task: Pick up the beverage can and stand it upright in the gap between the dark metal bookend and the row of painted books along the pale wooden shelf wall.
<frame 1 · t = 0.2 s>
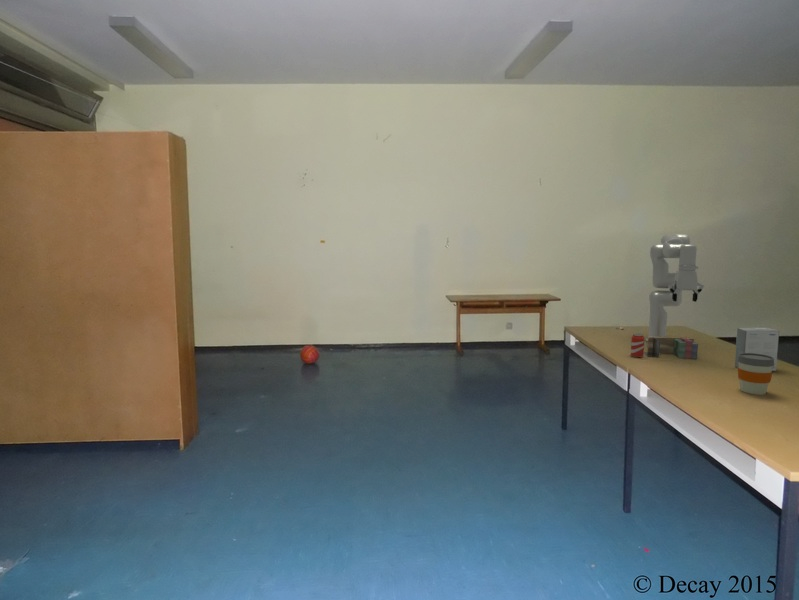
hand: (684, 301, 263), 31 cm above the table, tool pointing down, fingers open, 9 cm apart
reusable coffee cup: (752, 391, 211), on the table
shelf: (667, 357, 271), on the table
beverage can: (636, 356, 272), on the table
hard drive box: (754, 369, 247), on the table
bookend: (651, 347, 275), on the table
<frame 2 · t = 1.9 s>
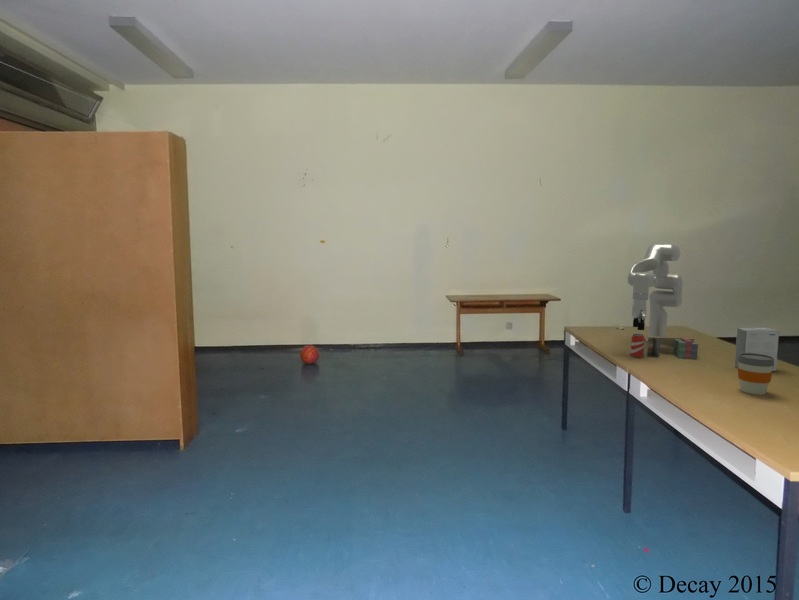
hand: (638, 328, 270), 15 cm above the table, tool pointing down, fingers open, 9 cm apart
nothing on the table moved.
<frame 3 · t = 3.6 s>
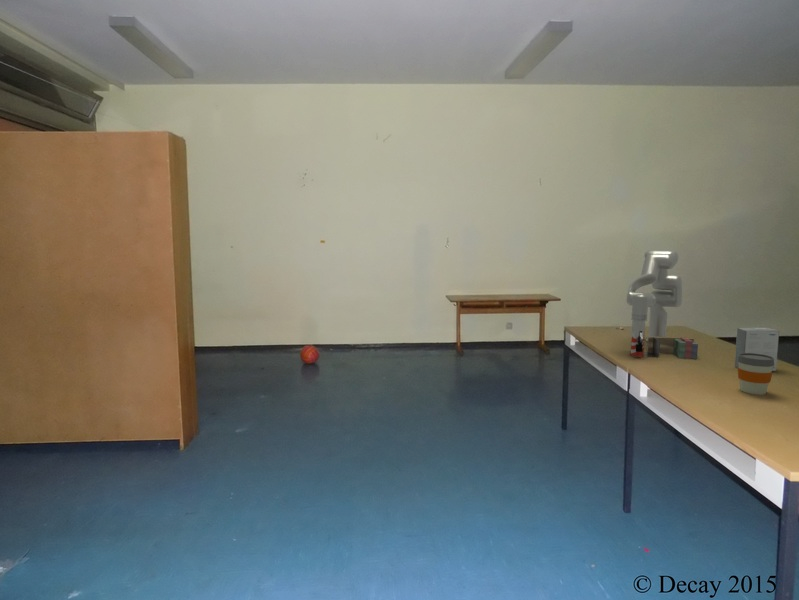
hand: (637, 349, 272), 4 cm above the table, tool pointing down, fingers closed on beverage can, 6 cm apart
beverage can: (636, 356, 272), on the table, touching gripper
everything else where it was.
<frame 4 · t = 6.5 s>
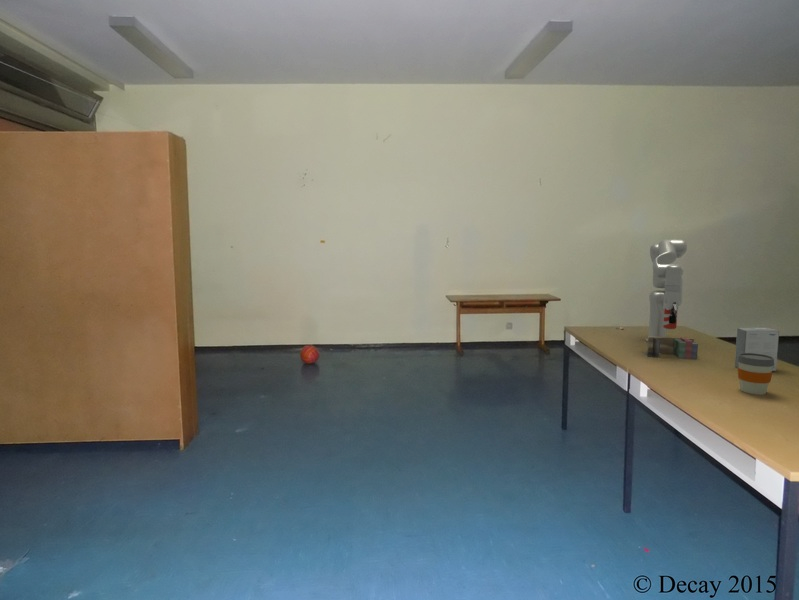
hand: (670, 321, 269), 19 cm above the table, tool pointing down, fingers closed on beverage can, 6 cm apart
beverage can: (669, 328, 269), point 15 cm above the table, touching gripper
everything else where it was.
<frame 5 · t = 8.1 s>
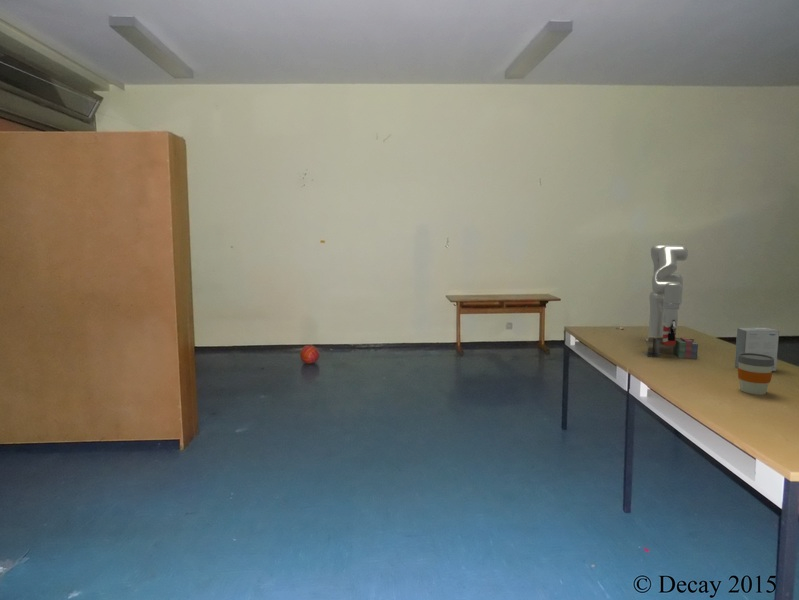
hand: (669, 339, 270), 10 cm above the table, tool pointing down, fingers closed on beverage can, 6 cm apart
beverage can: (668, 346, 270), point 6 cm above the table, touching gripper
everything else where it was.
when the fingers open (5 cm above the table, at t = 9.6 s): beverage can drops 1 cm, on the table.
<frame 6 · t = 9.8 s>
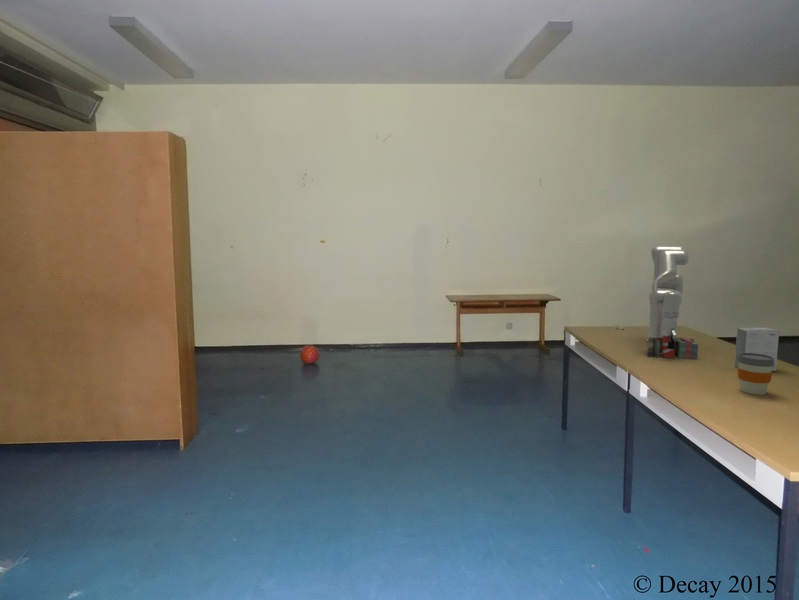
hand: (668, 347, 270), 6 cm above the table, tool pointing down, fingers open, 8 cm apart
beverage can: (667, 357, 271), on the table
everything else where it was.
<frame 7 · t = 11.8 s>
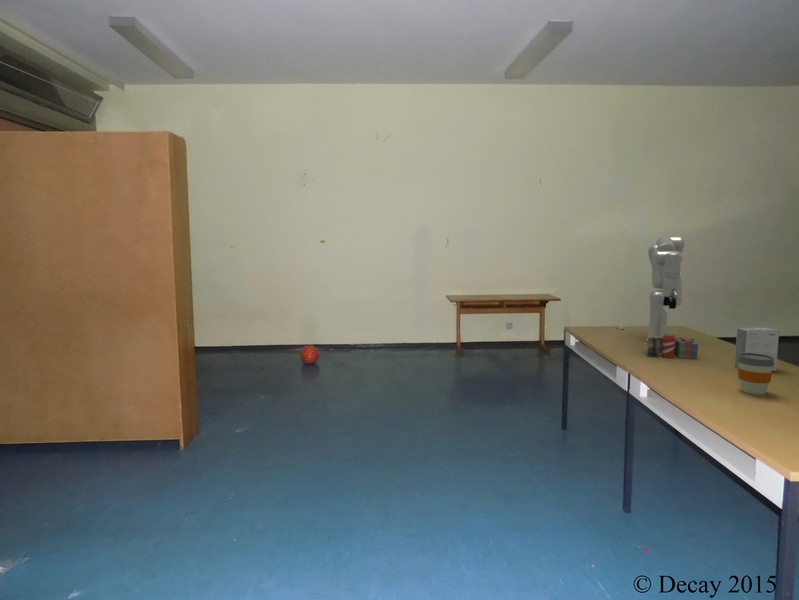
hand: (669, 306, 274), 26 cm above the table, tool pointing down, fingers open, 9 cm apart
nothing on the table moved.
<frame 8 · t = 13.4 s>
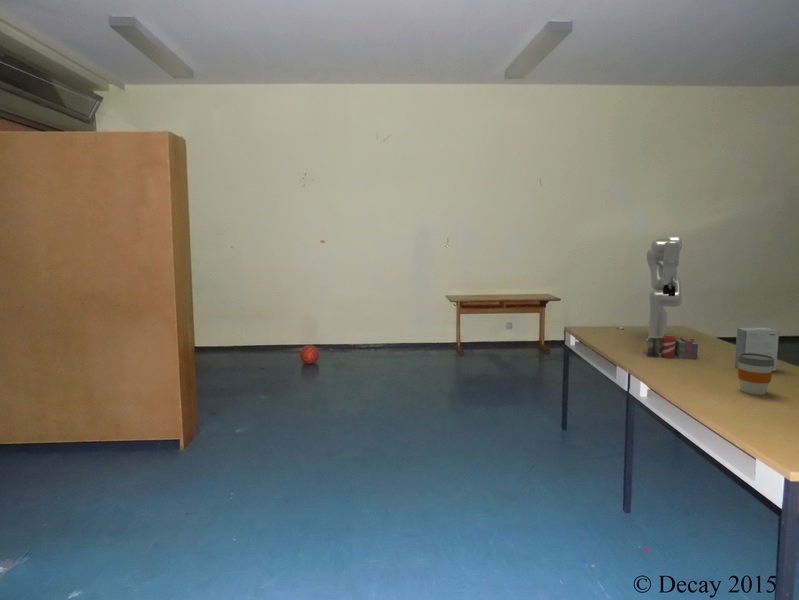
hand: (668, 295, 278), 32 cm above the table, tool pointing down, fingers open, 9 cm apart
nothing on the table moved.
at the end: beverage can 0.5 cm from the target spot, on the table; beverage can tilted 0°; the gripper is holding nothing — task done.
